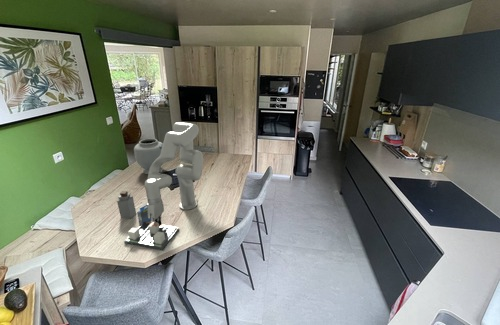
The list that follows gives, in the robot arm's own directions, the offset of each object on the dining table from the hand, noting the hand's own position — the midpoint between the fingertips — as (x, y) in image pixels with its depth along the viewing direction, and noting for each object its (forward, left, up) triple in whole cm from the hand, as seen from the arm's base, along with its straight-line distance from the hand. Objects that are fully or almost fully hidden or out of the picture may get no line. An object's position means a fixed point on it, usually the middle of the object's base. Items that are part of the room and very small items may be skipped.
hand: (158, 225), depth 145 cm
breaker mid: (+4, 0, -1) cm, 5 cm away
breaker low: (+12, -8, -1) cm, 14 cm away
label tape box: (-6, -13, -4) cm, 15 cm away
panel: (+7, 0, -3) cm, 7 cm away
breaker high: (+12, +8, -1) cm, 14 cm away
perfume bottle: (-8, -28, -4) cm, 29 cm away
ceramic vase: (-77, -55, -4) cm, 95 cm away
